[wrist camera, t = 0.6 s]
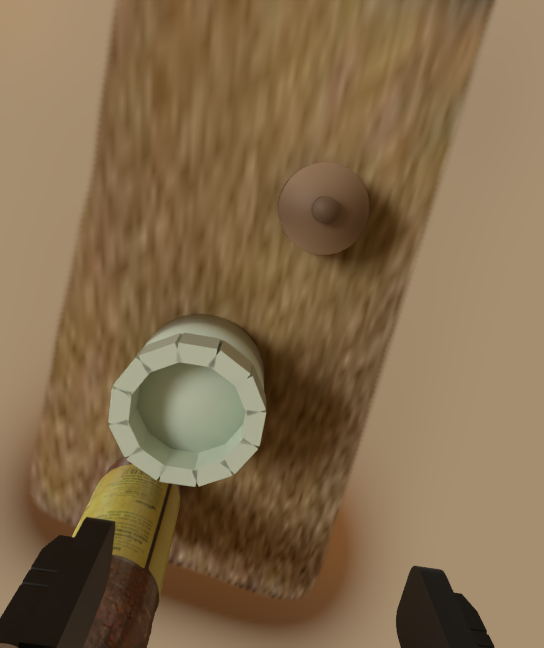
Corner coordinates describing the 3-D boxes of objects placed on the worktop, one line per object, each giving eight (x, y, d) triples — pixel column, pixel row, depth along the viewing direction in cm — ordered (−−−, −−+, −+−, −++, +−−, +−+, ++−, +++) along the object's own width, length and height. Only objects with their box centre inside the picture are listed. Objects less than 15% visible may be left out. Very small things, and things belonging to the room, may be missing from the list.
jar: (146, 304, 34) (117, 332, 27) (274, 325, 34) (276, 358, 27) (133, 420, 36) (103, 473, 29) (252, 439, 37) (250, 495, 30)
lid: (286, 157, 31) (289, 153, 28) (368, 173, 32) (382, 170, 28) (271, 241, 33) (272, 248, 29) (350, 255, 33) (360, 263, 30)
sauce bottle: (87, 474, 37) (-102, 776, 18) (153, 435, 36) (30, 706, 17) (137, 535, 39) (13, 873, 20) (202, 499, 38) (139, 814, 19)
